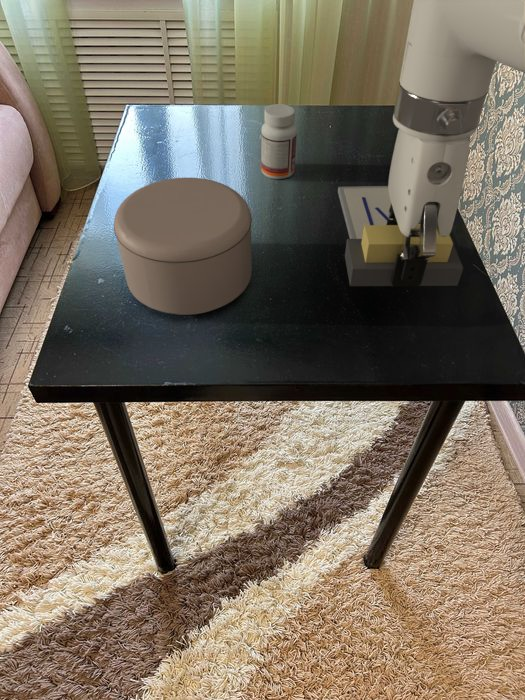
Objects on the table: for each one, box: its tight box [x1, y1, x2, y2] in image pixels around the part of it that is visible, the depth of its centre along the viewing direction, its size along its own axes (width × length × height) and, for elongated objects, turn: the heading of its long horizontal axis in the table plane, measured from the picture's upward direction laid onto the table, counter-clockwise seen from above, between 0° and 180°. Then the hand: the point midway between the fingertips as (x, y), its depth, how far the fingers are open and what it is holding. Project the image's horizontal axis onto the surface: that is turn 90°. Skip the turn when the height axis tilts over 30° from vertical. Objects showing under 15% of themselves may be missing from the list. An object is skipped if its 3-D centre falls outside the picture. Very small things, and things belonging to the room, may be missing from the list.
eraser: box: [344, 225, 464, 287], centre depth 60 cm, size 12×6×5 cm, turn 90°
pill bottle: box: [260, 103, 298, 180], centre depth 94 cm, size 6×6×11 cm
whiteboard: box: [337, 185, 420, 239], centre depth 88 cm, size 18×13×1 cm
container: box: [113, 177, 253, 316], centre depth 74 cm, size 18×18×12 cm
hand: (400, 265), depth 61 cm, fingers closed on eraser, 5 cm apart
